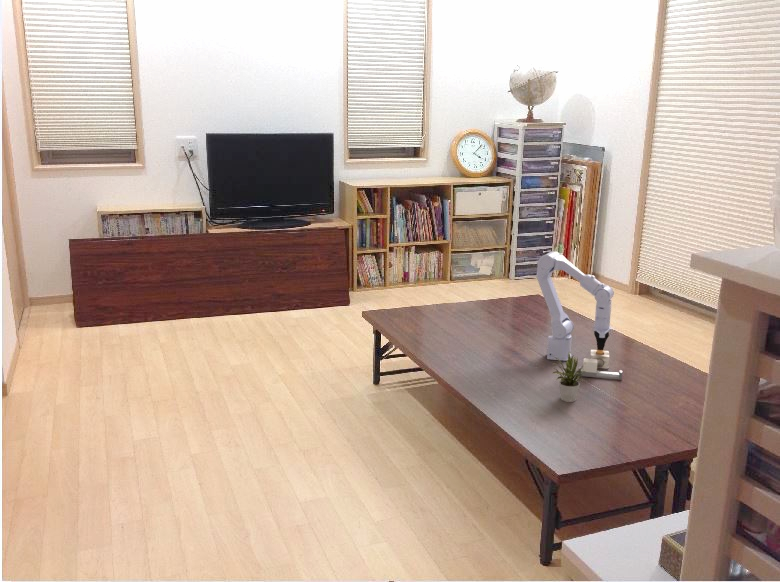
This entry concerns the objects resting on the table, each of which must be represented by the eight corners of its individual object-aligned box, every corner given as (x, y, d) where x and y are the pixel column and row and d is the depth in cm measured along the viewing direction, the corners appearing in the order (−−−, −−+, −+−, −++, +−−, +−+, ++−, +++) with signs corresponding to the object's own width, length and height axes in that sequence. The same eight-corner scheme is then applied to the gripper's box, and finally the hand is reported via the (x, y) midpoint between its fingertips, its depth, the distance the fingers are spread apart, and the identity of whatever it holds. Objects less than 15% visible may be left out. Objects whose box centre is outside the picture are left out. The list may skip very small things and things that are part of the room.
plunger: (596, 354, 281) (597, 350, 281) (596, 352, 283) (597, 348, 283) (603, 355, 280) (603, 350, 280) (602, 353, 283) (603, 348, 282)
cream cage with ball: (590, 367, 280) (590, 355, 279) (589, 361, 287) (590, 349, 286) (608, 369, 279) (609, 357, 277) (607, 362, 286) (608, 350, 284)
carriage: (582, 376, 271) (583, 361, 269) (582, 372, 274) (583, 358, 273) (596, 377, 269) (597, 363, 268) (596, 373, 273) (597, 359, 272)
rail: (578, 376, 272) (578, 369, 271) (578, 373, 274) (578, 366, 274) (621, 380, 268) (622, 372, 267) (621, 377, 270) (622, 370, 270)
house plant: (543, 389, 260) (545, 347, 255) (581, 389, 259) (584, 347, 255) (550, 405, 246) (552, 361, 242) (590, 406, 245) (593, 362, 241)
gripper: (614, 323, 270) (611, 356, 274) (612, 312, 284) (610, 344, 287) (594, 321, 272) (592, 354, 275) (594, 311, 285) (592, 342, 289)
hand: (600, 349), depth 281 cm, fingers closed, pressing on plunger
